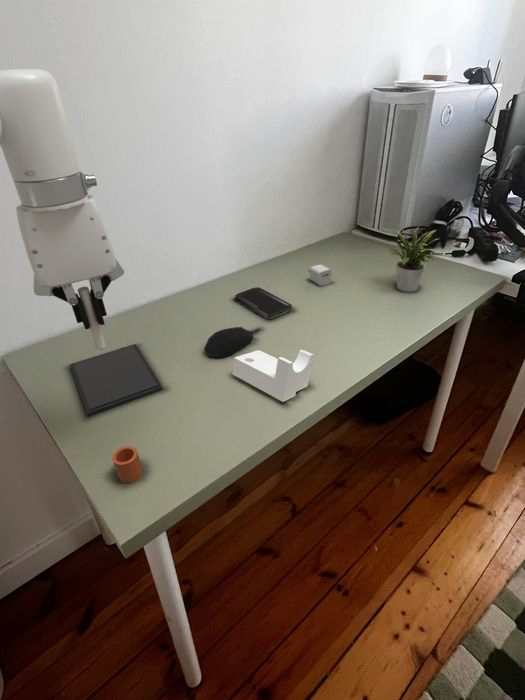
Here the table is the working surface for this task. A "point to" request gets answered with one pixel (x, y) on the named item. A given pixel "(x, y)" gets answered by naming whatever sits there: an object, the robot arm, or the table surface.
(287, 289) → the table surface
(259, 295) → the phone
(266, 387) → the bracket
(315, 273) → the usb wall charger
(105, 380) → the tablet
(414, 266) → the house plant
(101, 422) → the table surface
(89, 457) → the table surface
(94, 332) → the stylus
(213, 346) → the gaming mouse
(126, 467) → the pen holder
